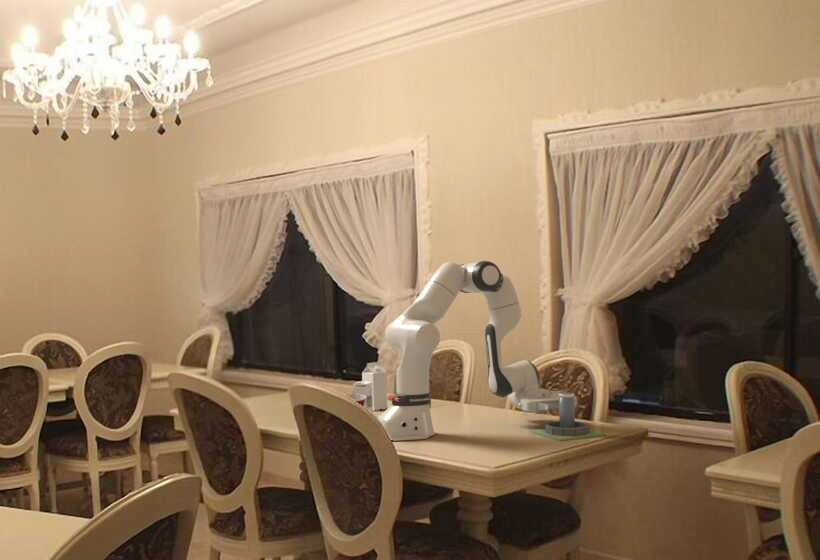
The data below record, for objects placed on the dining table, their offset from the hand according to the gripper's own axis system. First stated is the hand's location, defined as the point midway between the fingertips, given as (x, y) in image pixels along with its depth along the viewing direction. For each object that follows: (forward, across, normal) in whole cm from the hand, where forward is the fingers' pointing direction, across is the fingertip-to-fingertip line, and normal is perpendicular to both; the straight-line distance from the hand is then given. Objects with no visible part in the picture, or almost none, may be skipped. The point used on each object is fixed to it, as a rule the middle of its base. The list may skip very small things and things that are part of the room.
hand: (561, 406), depth 287 cm
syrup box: (-57, -50, +9) cm, 76 cm away
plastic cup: (-42, -60, +9) cm, 74 cm away
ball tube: (+3, 0, +8) cm, 9 cm away
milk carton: (-80, -36, +9) cm, 88 cm away
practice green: (+3, 0, +9) cm, 9 cm away
